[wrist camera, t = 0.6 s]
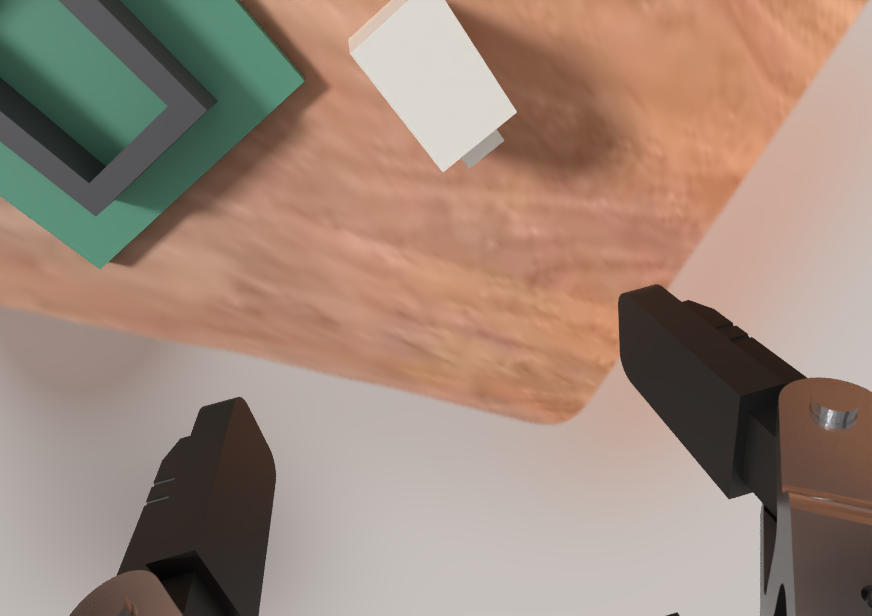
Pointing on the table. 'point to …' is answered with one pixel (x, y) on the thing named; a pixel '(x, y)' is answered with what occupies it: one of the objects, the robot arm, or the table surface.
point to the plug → (433, 79)
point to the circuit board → (125, 108)
